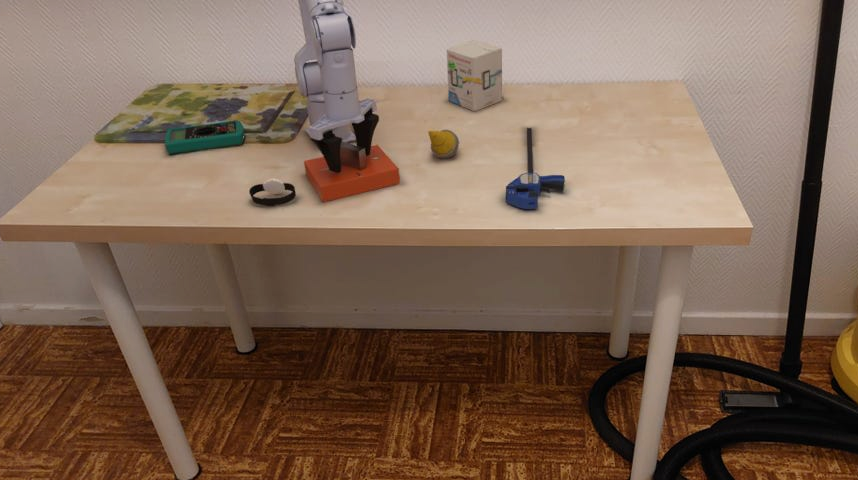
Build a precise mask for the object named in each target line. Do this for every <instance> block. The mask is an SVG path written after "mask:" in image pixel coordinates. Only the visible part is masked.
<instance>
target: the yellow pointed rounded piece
mask: <svg viewBox="0 0 858 480" xmlns="http://www.w3.org/2000/svg"><path fill="white" fill-rule="evenodd" d="M427 132H428V136H429V140H430V150H431V152H432V154H433V155H434V156H436V157H437V158H439V159H441V160H445V159H447V160H448V159H449V158H451V157H453V156H454V155H455V154H456V153H457V151H458V149H459V146H460V140H459V137H458V136H457V134H456V133H455V132H453V130H450V129H442V130H428V131H427Z"/></svg>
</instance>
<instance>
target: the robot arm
mask: <svg viewBox="0 0 858 480" xmlns="http://www.w3.org/2000/svg"><path fill="white" fill-rule="evenodd" d="M297 1H298V6H299V13H300V18H301V23H302V28H303V33H304V39H305V43H304V44H303V46H301V48H300V49H298V51H296V53H295V55H294V59H293V62H294V71H295V79H296V84H297V88H298V92H299V94H300V95H301V96H302V97H303V98H306V100H305V101H306V109H307V115H308V122H309V127H308V128H306V129H305V132H306V134H307V135H308V137H309V138H310V140H311V141H312V142H313V144H314V145H315V146H316V147H317V149H318V150H319V151H320V153H321V154H322V157H324V158H325V160H326V162H327V165H328V167H329V170H330V171H333V172H336V173H339V172H341V159H340V148H341V142H346V143H351V142H355V143H356V146H359V147H362V148H365V154H366V156H368V155H370V150H371V146H372V143H373V137H374V133H375V130H376V128H377V126H378V124H379V121H380V115H378V114H376V113H375V112H377V110H378V109H377V100H376V99H373V98H369V97H366V98H363V99H362V100H360V97H359V96H360V95H359V88H358V81H357V79H358V78H357V73H356V65H355V63H356V62H355V55H354V54H355V53H354V49H356V46H357V45H356V44H357V39H356V38H357V37H356V29H355V23H354V21H353V17H352V15H351V12H350V11H349V8H348V6H347V5H345V4H344V0H297ZM315 60H316V61H315ZM350 125H351V127H352V129H353V131H352V130H351V127H350Z"/></svg>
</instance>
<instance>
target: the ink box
mask: <svg viewBox="0 0 858 480" xmlns="http://www.w3.org/2000/svg"><path fill="white" fill-rule="evenodd" d="M446 65H447V93H448V102H450V103H453V104H455V105H457V106H460V107H462V108H464V109H468V110H470V111H473V112H476V111H479V110H483V109H485V108H487V107H490V106H492V105H495V104H497V103H500V102H502V101H503V48H502V47H499V46H497V45H492V44H489V43H486V42H483V41H479V40H477V39H473V40H470V41H467V42H465V43H461V44H458V45H455V46H451V47H450V48H446Z"/></svg>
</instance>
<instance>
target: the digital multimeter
mask: <svg viewBox="0 0 858 480" xmlns="http://www.w3.org/2000/svg"><path fill="white" fill-rule="evenodd" d="M244 133H245V135H244ZM243 136H244V138H243ZM245 139H246V132H245V128H244V125H243V123H242V121H240V120H237V119H233V120H227V121H221V122H214V123H205V124H199V125H191V126H190V125H189V126H182V127H181V126H180V127H172V128H169V129H168V130H167V131H166V133H165V139H164V144H165V145H164V146H165V148H166V152H167V154H170V155H175V154H181V153H183V154H184V153H189V152H197V151H205V150H211V149H220V148H227V147H233V146H234V147H235V146H241V145H242V144H243V142H244V140H245Z"/></svg>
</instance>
